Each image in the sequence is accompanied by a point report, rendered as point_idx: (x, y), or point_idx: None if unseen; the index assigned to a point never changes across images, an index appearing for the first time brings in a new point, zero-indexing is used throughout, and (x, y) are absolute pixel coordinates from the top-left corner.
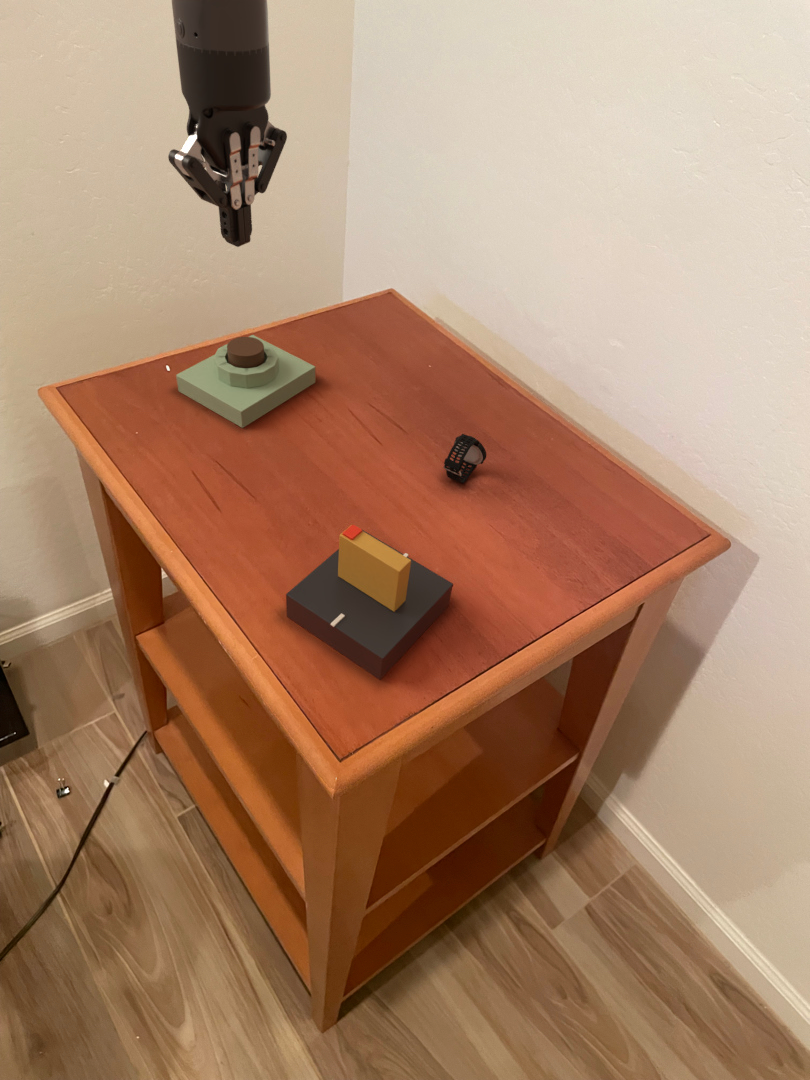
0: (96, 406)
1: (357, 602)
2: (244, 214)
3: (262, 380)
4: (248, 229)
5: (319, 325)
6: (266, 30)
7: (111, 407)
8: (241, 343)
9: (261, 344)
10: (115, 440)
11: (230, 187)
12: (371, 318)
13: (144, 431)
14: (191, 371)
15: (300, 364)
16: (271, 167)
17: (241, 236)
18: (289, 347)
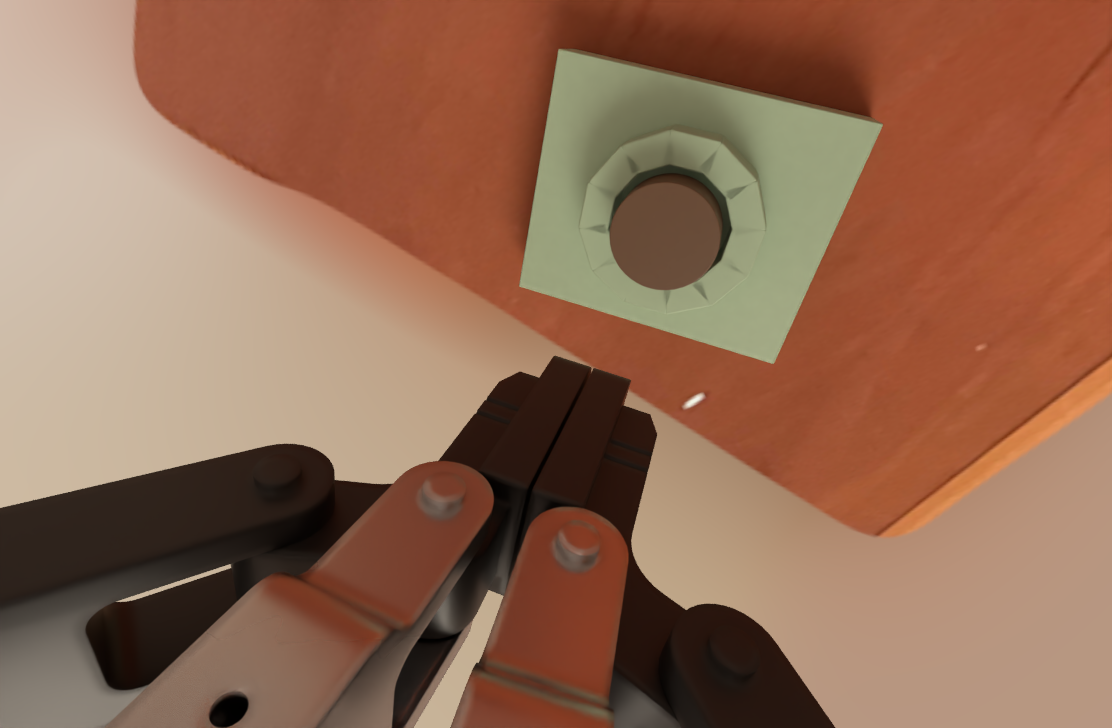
0: (899, 463)
1: None
2: (536, 455)
3: (725, 140)
4: (546, 389)
5: (353, 183)
6: None
7: (892, 437)
8: (655, 255)
9: (631, 200)
10: (1029, 375)
11: (604, 699)
12: (242, 77)
13: (968, 335)
14: (743, 339)
15: (572, 97)
16: (59, 527)
17: (609, 396)
18: (473, 201)
